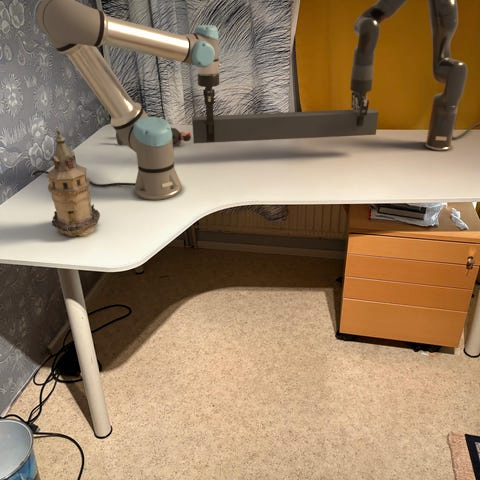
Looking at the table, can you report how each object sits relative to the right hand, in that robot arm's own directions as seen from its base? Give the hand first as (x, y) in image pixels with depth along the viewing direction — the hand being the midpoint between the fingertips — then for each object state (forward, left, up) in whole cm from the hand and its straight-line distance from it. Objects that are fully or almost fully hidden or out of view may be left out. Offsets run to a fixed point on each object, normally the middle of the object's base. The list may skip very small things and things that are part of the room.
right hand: (357, 123), depth 198 cm
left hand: (+37, -41, -3) cm, 55 cm away
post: (+18, -20, -4) cm, 27 cm away
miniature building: (+100, -39, -13) cm, 108 cm away
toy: (+33, -73, -13) cm, 81 cm away
